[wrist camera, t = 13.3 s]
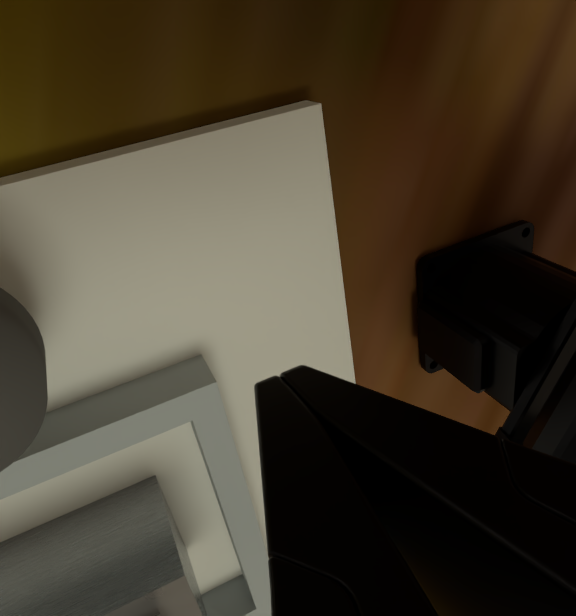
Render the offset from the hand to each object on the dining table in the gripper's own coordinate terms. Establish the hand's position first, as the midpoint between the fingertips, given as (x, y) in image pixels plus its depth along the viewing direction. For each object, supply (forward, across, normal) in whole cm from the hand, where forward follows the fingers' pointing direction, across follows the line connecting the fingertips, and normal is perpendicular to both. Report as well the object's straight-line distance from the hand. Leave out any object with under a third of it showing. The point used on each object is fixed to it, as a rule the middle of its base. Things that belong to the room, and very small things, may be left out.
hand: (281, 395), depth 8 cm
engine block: (+11, +7, +13) cm, 18 cm away
